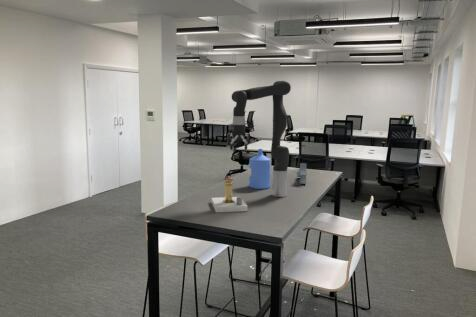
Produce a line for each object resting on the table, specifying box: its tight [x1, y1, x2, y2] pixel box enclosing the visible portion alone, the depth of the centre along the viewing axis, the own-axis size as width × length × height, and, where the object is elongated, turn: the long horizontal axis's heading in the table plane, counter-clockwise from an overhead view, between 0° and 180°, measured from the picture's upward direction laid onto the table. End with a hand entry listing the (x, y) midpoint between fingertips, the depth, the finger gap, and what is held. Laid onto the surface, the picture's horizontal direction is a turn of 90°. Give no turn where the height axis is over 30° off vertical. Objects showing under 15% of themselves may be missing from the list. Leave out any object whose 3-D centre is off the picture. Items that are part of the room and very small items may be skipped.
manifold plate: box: [211, 196, 248, 213], centre depth 228 cm, size 22×18×7 cm
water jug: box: [248, 148, 272, 190], centre depth 281 cm, size 16×16×28 cm
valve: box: [223, 177, 234, 203], centre depth 227 cm, size 6×5×17 cm
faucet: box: [296, 162, 308, 185], centre depth 303 cm, size 6×17×30 cm
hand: (238, 150), depth 238 cm, fingers open, 8 cm apart
